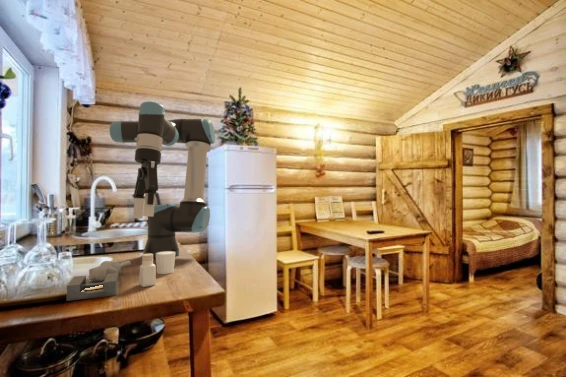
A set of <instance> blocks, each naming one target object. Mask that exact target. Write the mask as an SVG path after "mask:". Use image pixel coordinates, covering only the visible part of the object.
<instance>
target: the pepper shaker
mask: <svg viewBox="0 0 566 377" xmlns="http://www.w3.org/2000/svg"><path fill="white" fill-rule="evenodd" d="M141 259H142V260H141V262H142V263H141V264H140V265H139V285H140V286H141V287H142V288H145V287H151V286H156V277H157V276H156V274H157V265H156V264H154V259H153V254H143V253H142V256H141Z"/></svg>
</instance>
